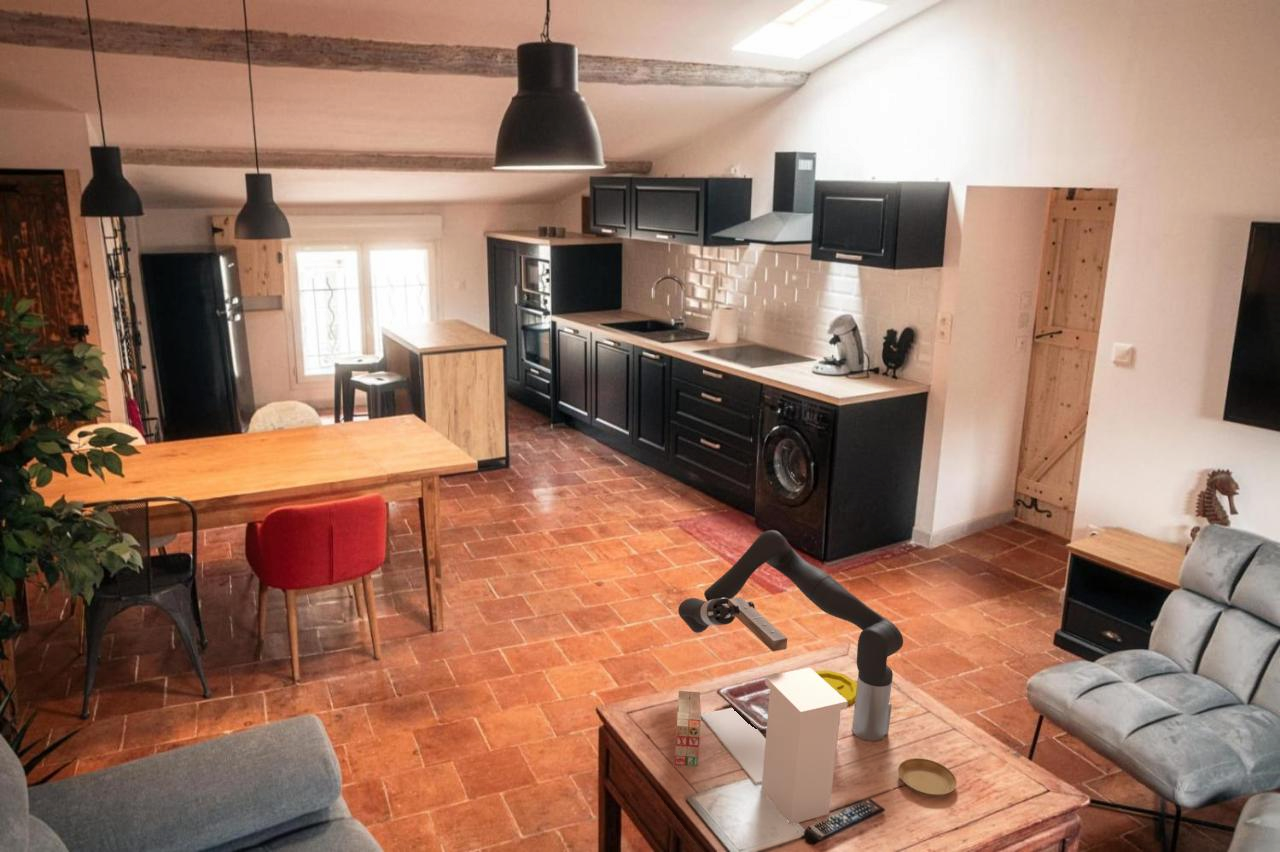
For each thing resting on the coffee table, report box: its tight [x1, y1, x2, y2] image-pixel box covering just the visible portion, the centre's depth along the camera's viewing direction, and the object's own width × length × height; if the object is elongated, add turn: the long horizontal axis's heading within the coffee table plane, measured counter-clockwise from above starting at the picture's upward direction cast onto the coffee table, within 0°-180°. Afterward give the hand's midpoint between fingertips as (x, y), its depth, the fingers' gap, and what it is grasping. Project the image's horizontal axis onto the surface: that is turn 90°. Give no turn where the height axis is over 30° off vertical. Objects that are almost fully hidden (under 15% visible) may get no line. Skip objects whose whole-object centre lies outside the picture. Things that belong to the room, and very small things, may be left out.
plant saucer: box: [897, 757, 958, 798], centre depth 233 cm, size 15×15×3 cm
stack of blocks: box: [674, 690, 702, 767], centre depth 245 cm, size 21×6×12 cm, turn 176°
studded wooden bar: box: [728, 596, 788, 652], centre depth 236 cm, size 4×24×3 cm, turn 23°
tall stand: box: [761, 667, 848, 825], centre depth 220 cm, size 13×16×32 cm
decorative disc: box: [814, 669, 857, 706], centre depth 274 cm, size 17×18×2 cm
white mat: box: [701, 707, 766, 785], centre depth 246 cm, size 12×32×1 cm, turn 23°
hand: (745, 607), depth 241 cm, fingers closed on studded wooden bar, 4 cm apart
